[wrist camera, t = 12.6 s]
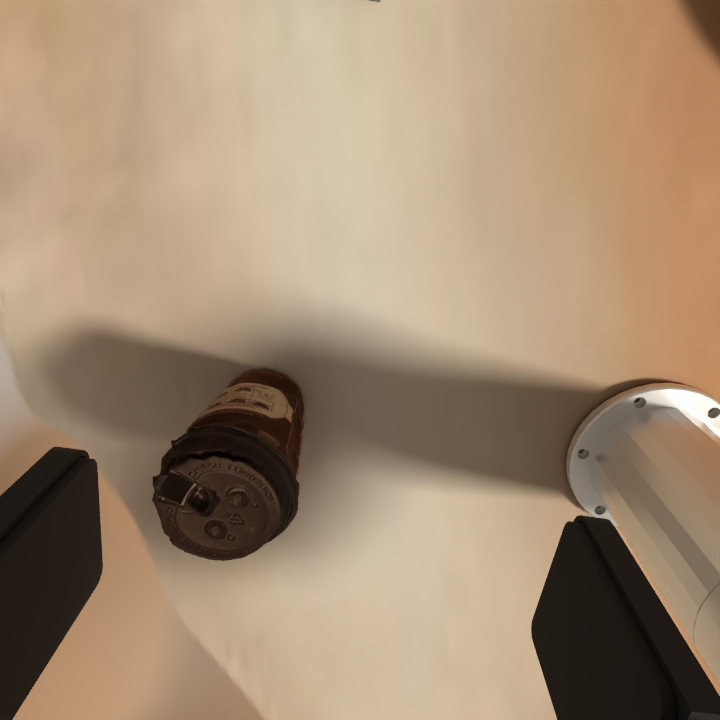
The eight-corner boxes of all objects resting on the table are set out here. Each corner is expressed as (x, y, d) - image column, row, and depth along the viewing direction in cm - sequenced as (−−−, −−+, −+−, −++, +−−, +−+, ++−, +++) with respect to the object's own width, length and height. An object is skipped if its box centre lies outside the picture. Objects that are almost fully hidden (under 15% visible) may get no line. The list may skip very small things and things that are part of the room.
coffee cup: (190, 368, 40) (110, 464, 28) (293, 336, 39) (256, 422, 27) (236, 464, 43) (181, 587, 31) (333, 436, 42) (315, 554, 30)
